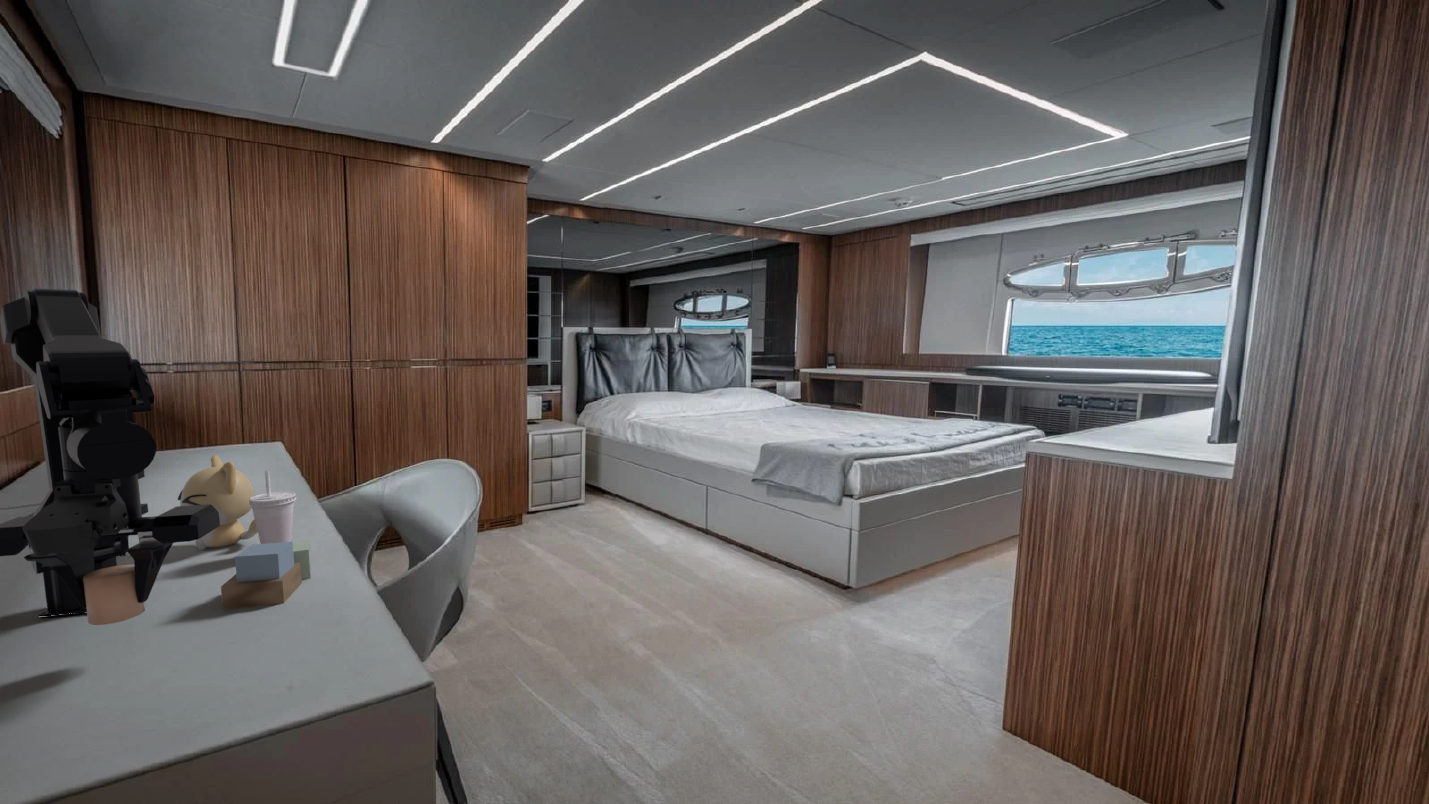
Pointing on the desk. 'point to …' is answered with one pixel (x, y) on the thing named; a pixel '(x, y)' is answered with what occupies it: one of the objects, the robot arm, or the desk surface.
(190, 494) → the kitten
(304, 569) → the block
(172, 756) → the desk surface
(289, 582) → the tower base
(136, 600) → the clay cylinder
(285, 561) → the tower mid
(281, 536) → the smoothie
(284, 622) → the desk surface
